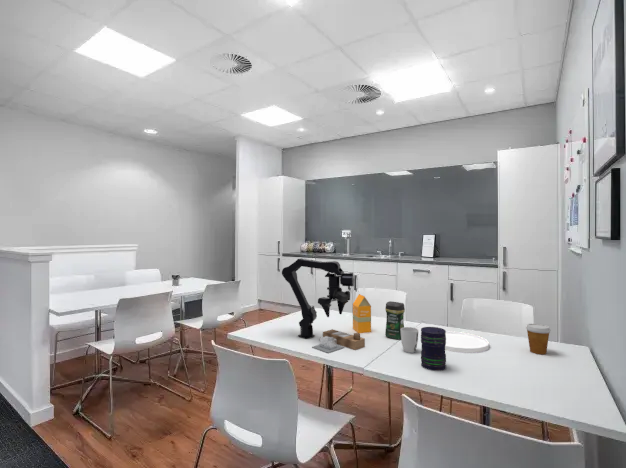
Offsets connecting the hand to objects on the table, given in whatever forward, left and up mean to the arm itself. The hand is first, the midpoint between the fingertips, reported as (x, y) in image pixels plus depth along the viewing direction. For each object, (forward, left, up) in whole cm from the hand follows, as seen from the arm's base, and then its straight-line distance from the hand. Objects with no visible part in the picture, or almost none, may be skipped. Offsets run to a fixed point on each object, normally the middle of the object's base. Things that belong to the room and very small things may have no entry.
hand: (334, 315), depth 183 cm
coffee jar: (+20, +25, -12) cm, 34 cm away
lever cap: (+8, -13, -12) cm, 19 cm away
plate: (+47, +39, -13) cm, 62 cm away
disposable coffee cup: (+78, +53, -12) cm, 95 cm away
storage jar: (+54, +3, -12) cm, 55 cm away
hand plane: (+8, -2, -12) cm, 15 cm away
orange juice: (0, +22, -12) cm, 25 cm away
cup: (+37, +12, -12) cm, 41 cm away
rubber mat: (+8, -13, -12) cm, 19 cm away
